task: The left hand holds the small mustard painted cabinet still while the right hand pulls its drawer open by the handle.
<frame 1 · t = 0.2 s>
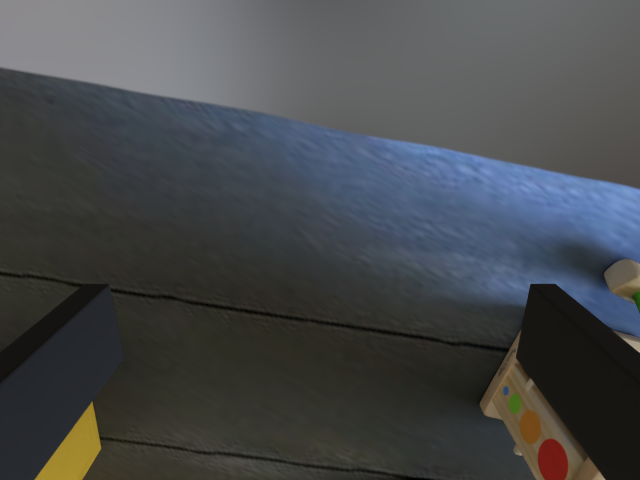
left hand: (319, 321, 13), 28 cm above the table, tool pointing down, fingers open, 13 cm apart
cabinet: (15, 413, 49), on the table
pounding bench toy: (574, 343, 46), on the table
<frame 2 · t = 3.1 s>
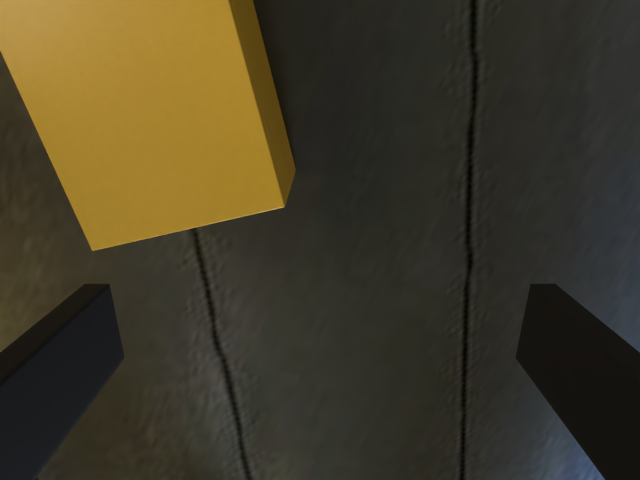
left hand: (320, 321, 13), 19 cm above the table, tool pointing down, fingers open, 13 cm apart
cabinet: (185, 46, 27), on the table
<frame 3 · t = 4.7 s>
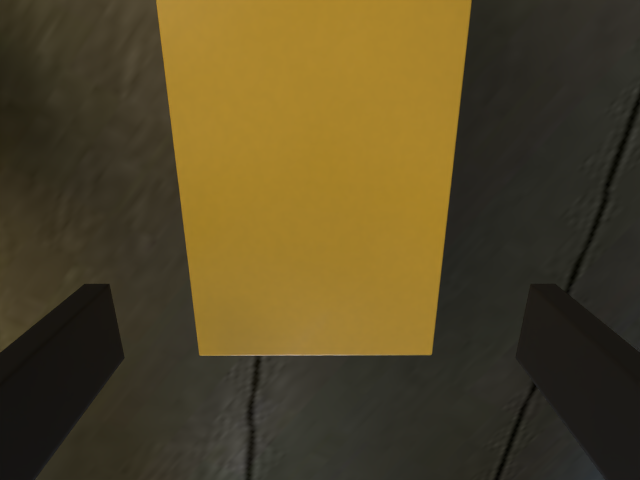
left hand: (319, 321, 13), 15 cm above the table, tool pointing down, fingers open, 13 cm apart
cabinet: (316, 114, 24), on the table
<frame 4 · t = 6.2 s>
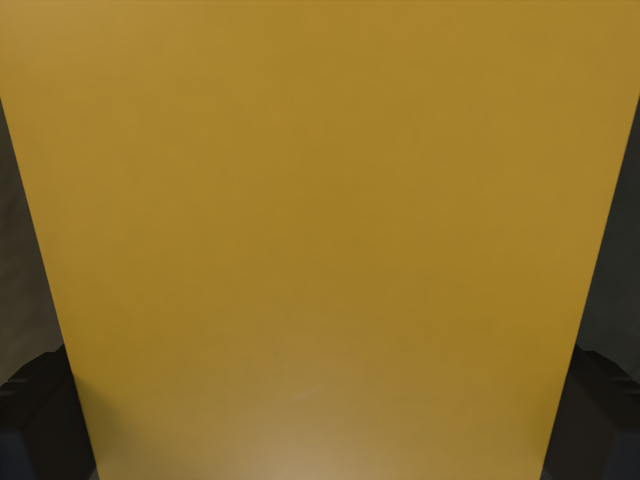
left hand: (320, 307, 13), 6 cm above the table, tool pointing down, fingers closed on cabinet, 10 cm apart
cabinet: (320, 118, 17), on the table, touching left hand
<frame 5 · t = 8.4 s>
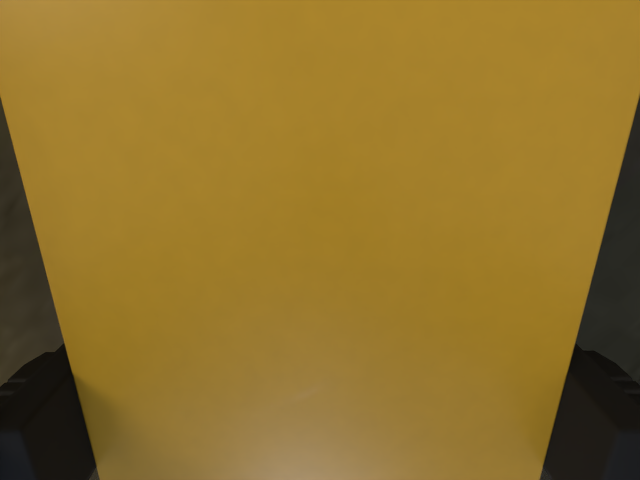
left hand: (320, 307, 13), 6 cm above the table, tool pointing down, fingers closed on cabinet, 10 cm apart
cabinet: (320, 119, 17), on the table, touching left hand
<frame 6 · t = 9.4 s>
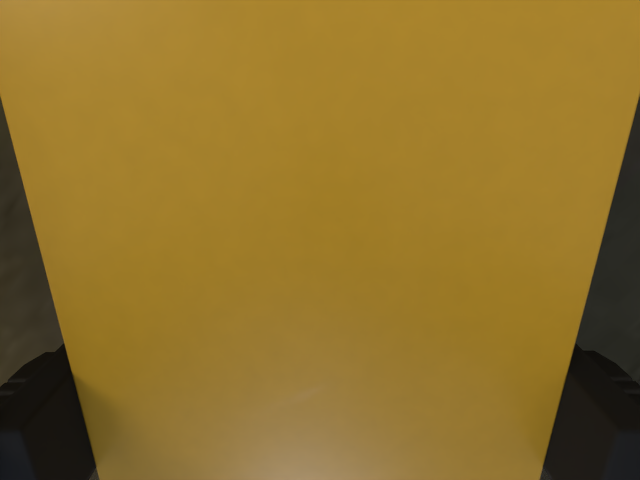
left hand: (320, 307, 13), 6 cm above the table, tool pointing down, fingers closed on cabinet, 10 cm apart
cabinet: (319, 119, 17), on the table, touching left hand
when the left hand's fingers open (6 cm above the table, at t = 11.3 s): cabinet stays where it is, on the table.
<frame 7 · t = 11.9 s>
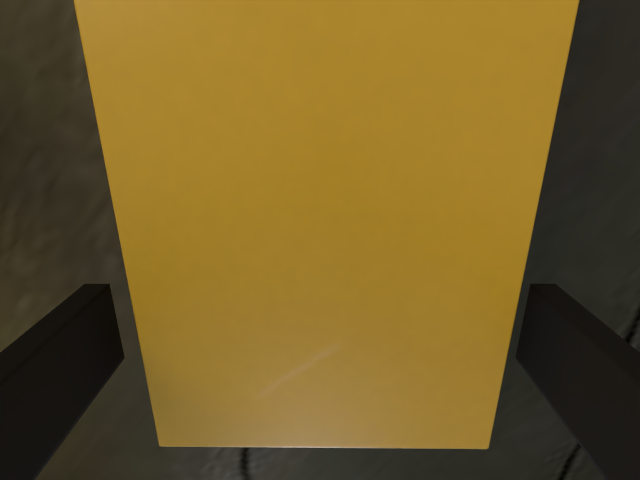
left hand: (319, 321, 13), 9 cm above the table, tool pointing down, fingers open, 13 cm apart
cabinet: (324, 105, 19), on the table
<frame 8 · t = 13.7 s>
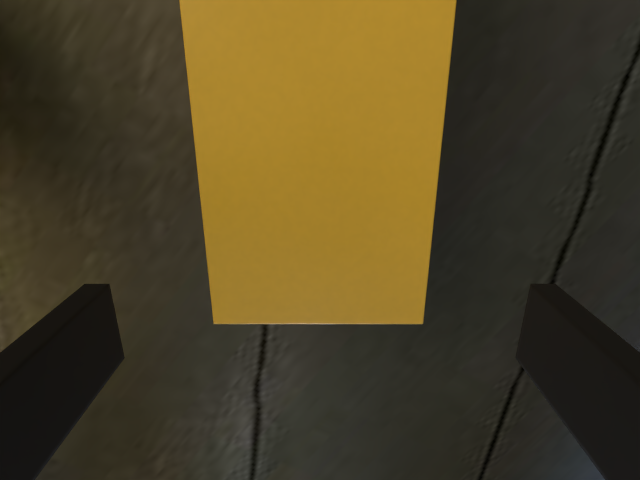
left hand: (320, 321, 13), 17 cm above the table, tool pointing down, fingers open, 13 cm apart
cabinet: (318, 108, 26), on the table
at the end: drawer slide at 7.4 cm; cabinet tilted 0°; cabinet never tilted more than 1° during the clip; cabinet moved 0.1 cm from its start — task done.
